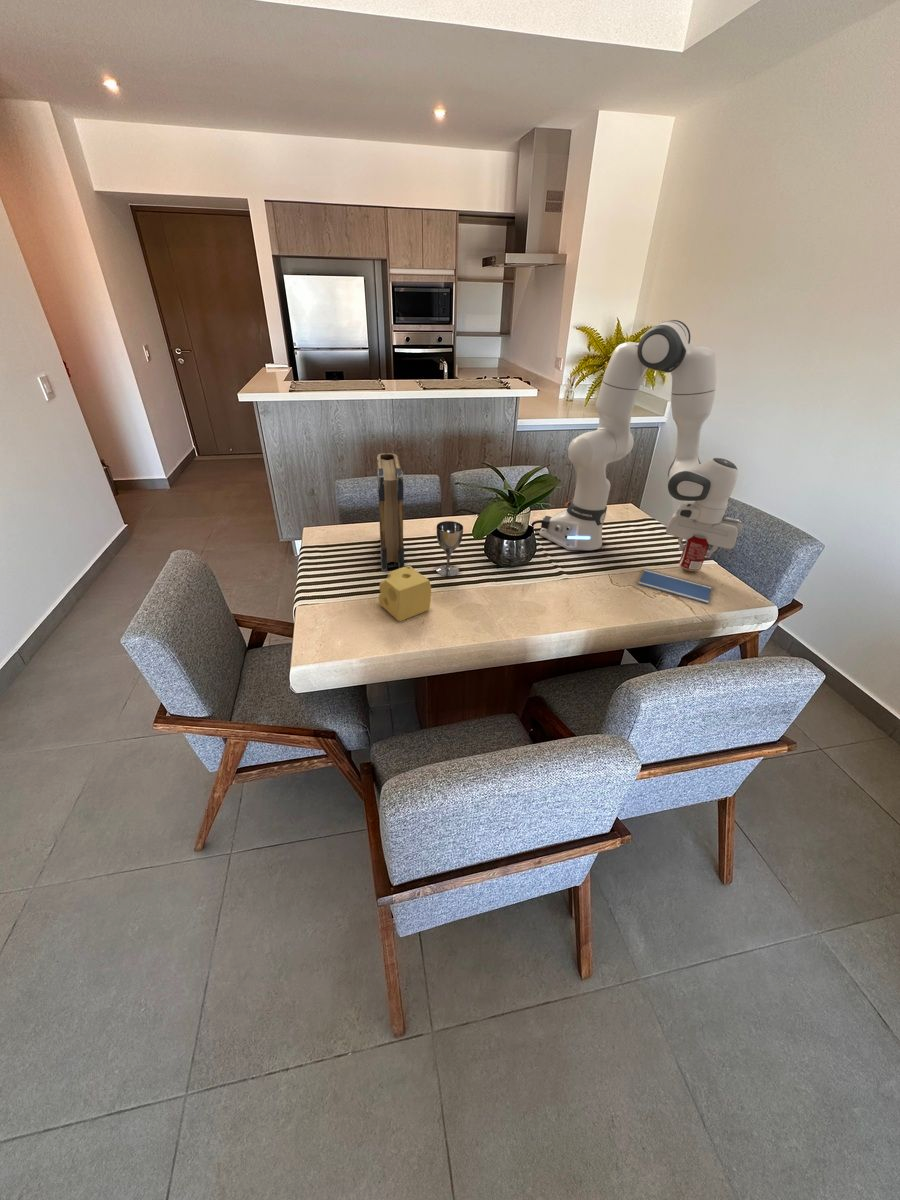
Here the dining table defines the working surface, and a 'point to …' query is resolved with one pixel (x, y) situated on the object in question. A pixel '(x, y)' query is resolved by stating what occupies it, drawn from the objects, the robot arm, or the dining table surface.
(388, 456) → the decorative book
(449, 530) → the wine glass
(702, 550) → the soda can
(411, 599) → the cheese
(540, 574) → the dining table surface
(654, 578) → the blue rectangular panel
